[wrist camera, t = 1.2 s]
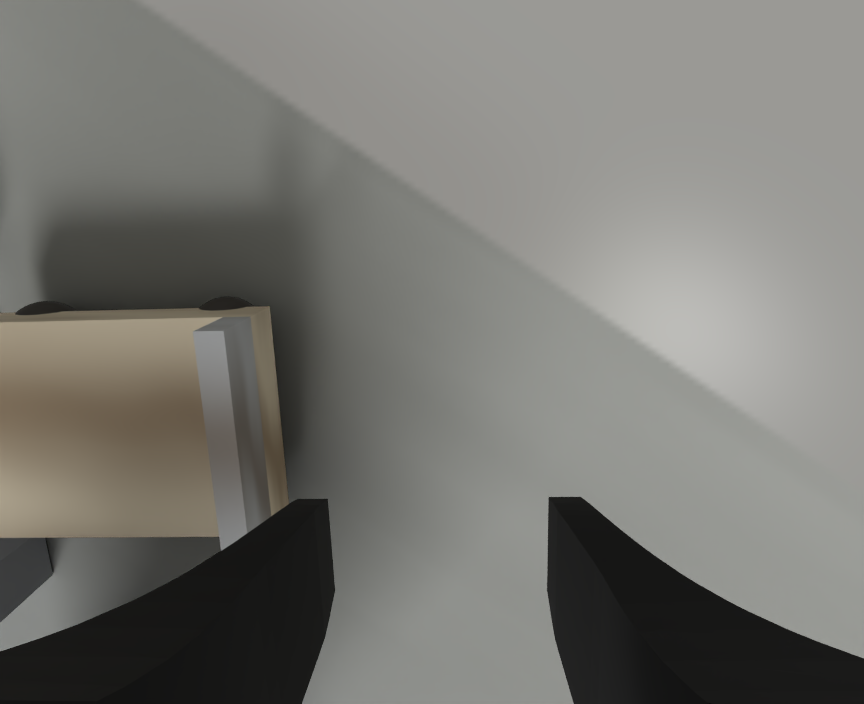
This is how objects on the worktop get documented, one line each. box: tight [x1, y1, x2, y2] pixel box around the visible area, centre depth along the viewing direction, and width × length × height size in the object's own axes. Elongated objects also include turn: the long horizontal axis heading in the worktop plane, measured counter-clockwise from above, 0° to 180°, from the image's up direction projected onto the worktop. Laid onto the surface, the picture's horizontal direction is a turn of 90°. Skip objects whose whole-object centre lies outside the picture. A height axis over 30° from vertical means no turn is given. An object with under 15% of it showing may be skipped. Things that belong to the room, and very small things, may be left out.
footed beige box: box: [0, 297, 289, 551], centre depth 19 cm, size 8×9×5 cm
